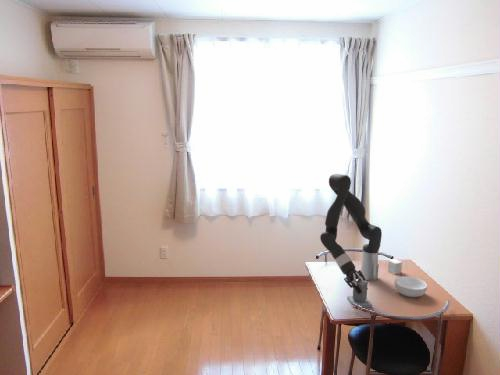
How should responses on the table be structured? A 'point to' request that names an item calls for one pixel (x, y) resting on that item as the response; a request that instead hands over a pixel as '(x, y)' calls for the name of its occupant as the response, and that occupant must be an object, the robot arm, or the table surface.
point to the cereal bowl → (410, 286)
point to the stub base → (364, 304)
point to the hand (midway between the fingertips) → (363, 291)
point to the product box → (394, 266)
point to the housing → (363, 288)
